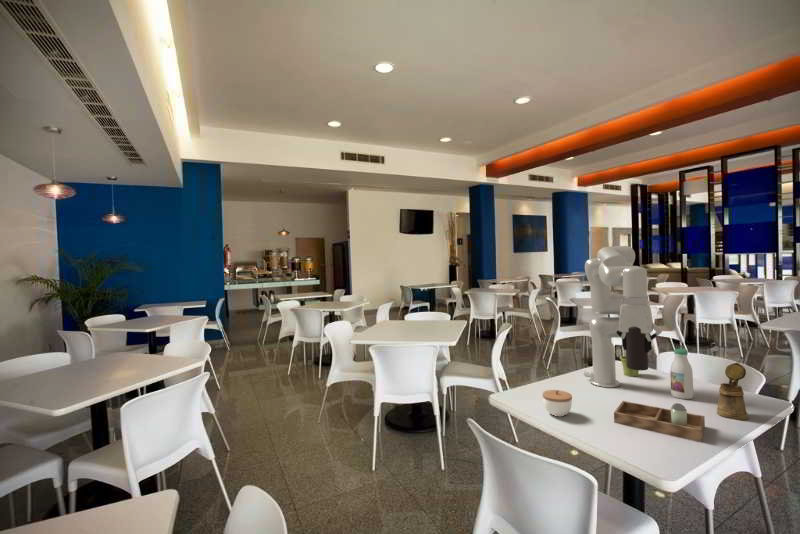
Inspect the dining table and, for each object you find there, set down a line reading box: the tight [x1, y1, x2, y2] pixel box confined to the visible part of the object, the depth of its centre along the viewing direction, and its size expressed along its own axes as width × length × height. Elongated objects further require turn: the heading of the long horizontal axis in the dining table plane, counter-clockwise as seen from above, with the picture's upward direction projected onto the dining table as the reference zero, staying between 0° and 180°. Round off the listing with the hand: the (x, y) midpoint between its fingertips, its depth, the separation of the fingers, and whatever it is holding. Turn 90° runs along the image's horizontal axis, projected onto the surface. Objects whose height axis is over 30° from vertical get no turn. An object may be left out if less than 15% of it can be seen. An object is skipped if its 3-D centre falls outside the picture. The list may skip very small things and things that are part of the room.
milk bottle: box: [669, 348, 694, 400], centre depth 164 cm, size 8×8×20 cm
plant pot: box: [619, 355, 640, 377], centre depth 195 cm, size 9×9×9 cm
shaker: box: [670, 402, 688, 427], centre depth 133 cm, size 4×4×9 cm
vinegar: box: [625, 326, 649, 372], centre depth 140 cm, size 7×7×20 cm
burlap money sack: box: [716, 362, 749, 421], centre depth 145 cm, size 9×14×18 cm, turn 127°
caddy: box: [613, 400, 706, 443], centre depth 137 cm, size 25×14×4 cm, turn 48°
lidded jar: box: [542, 389, 573, 417], centre depth 151 cm, size 11×11×9 cm
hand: (636, 350), depth 140 cm, fingers closed on vinegar, 6 cm apart
